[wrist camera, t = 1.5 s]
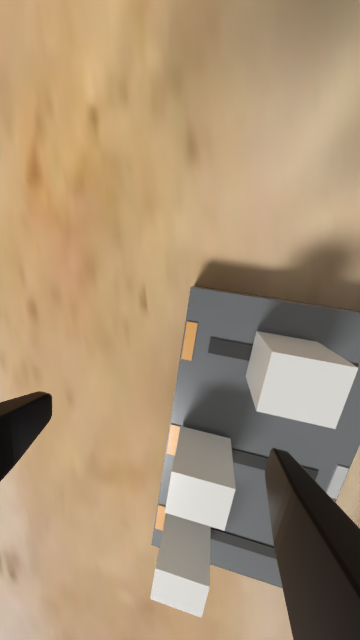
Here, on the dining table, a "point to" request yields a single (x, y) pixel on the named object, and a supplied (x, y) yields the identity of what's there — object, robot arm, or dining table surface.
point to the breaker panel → (256, 414)
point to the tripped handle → (298, 379)
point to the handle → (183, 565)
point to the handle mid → (202, 479)
